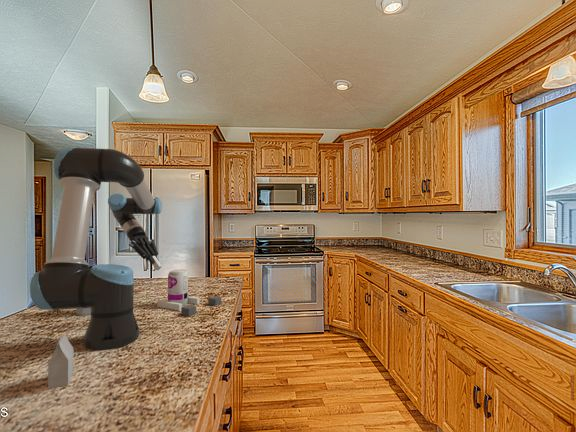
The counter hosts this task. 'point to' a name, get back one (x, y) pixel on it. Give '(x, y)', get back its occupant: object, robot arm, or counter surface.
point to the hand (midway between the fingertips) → (159, 268)
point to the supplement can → (178, 286)
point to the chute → (188, 309)
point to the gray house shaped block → (61, 364)
